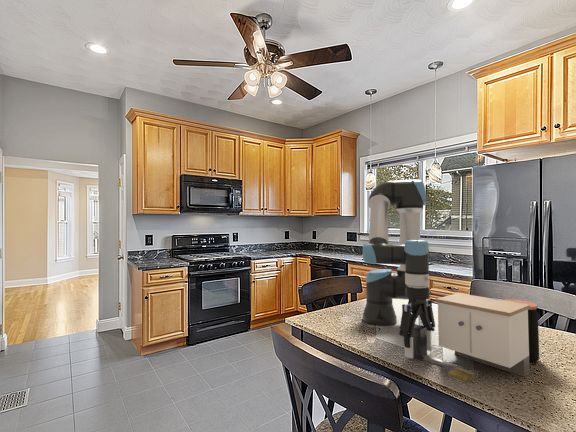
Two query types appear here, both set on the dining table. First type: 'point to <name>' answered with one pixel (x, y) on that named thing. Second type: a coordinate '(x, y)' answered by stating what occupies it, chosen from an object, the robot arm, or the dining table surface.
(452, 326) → the toe-kick cabinet
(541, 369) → the dining table surface
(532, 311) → the coffee jar
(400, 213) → the robot arm
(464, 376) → the brass block
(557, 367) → the dining table surface
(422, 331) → the grey post with bar
